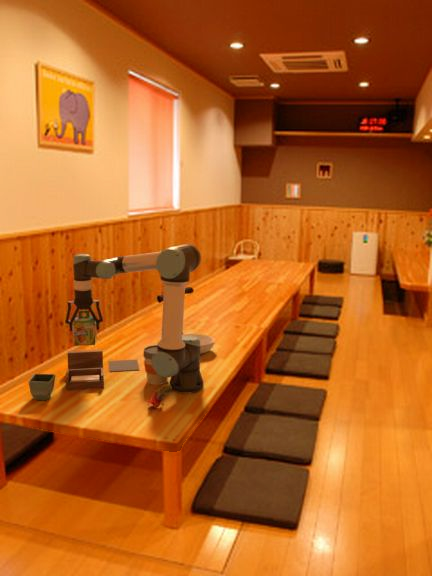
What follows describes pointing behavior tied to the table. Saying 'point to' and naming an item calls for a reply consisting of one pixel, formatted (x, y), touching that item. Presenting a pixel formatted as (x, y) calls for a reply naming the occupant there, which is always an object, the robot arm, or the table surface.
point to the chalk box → (84, 329)
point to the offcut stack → (84, 378)
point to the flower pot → (42, 386)
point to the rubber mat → (123, 365)
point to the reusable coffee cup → (151, 373)
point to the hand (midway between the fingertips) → (84, 337)
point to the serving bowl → (203, 342)
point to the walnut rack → (85, 369)
